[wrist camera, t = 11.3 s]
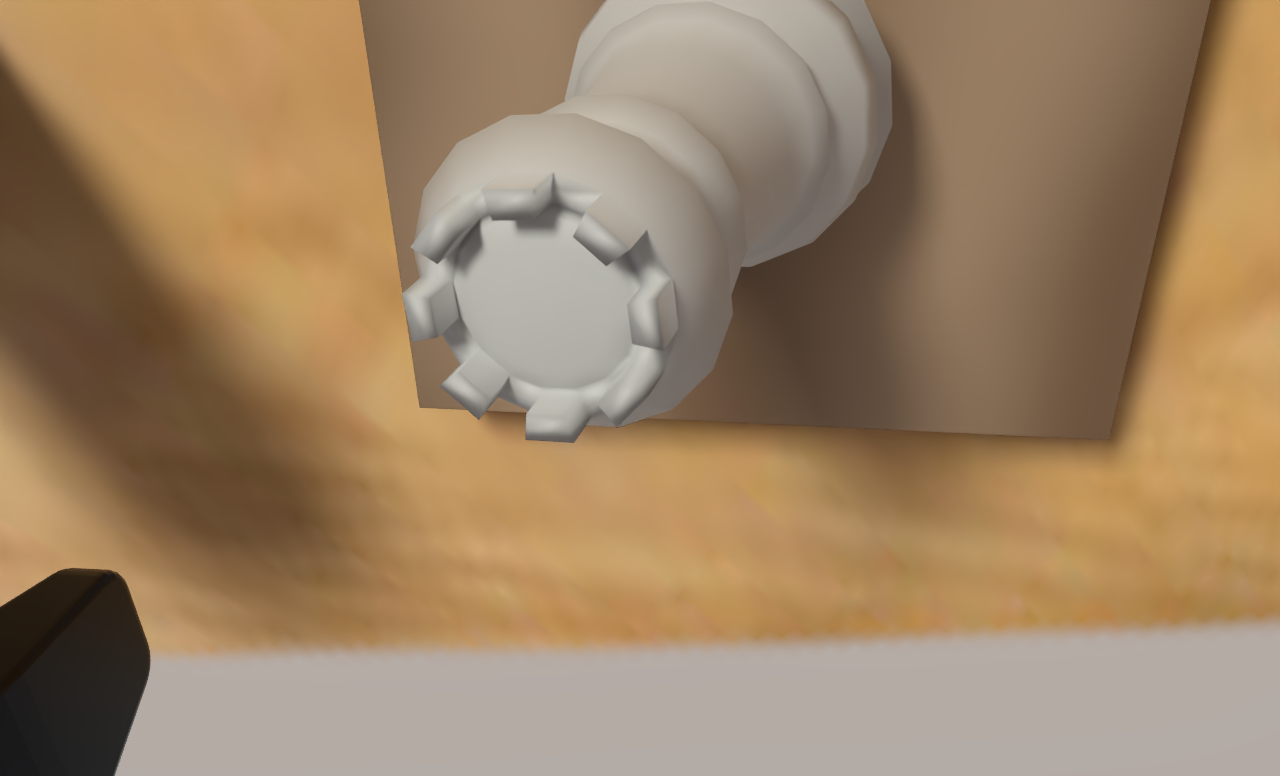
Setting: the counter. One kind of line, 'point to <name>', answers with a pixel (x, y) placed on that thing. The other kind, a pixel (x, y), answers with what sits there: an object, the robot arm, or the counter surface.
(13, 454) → the counter surface
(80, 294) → the counter surface
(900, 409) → the walnut block
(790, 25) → the rook chess piece
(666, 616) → the counter surface
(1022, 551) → the counter surface
